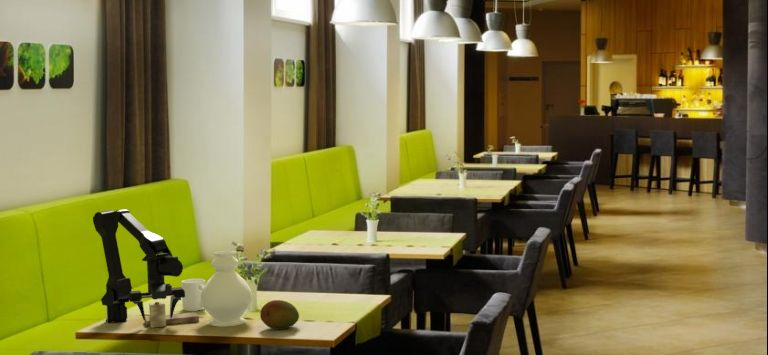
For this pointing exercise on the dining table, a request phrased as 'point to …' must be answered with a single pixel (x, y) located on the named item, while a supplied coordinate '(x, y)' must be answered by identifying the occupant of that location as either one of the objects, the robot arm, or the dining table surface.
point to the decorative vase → (226, 292)
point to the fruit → (279, 314)
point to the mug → (192, 294)
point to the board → (177, 318)
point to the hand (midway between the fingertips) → (157, 318)
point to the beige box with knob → (157, 315)
